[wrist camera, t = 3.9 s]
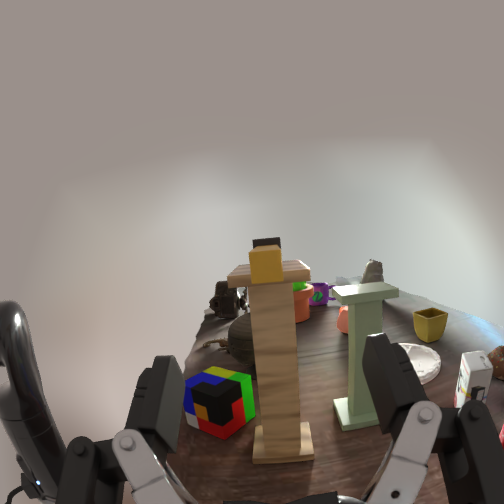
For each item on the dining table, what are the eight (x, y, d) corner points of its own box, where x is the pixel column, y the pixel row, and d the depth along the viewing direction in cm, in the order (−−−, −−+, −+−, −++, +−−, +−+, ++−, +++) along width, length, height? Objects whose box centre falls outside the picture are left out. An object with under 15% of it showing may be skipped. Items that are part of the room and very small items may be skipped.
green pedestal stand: (392, 421, 45) (401, 289, 44) (342, 431, 46) (343, 297, 45) (377, 397, 55) (380, 280, 54) (333, 405, 56) (330, 286, 55)
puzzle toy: (187, 424, 53) (178, 383, 53) (219, 404, 61) (212, 366, 61) (224, 440, 47) (217, 397, 47) (255, 415, 56) (250, 375, 55)
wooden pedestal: (315, 467, 37) (309, 268, 36) (252, 472, 38) (226, 276, 36) (307, 421, 51) (298, 259, 50) (256, 425, 52) (238, 265, 50)
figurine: (389, 300, 136) (387, 259, 135) (359, 304, 136) (357, 263, 135) (378, 295, 150) (377, 257, 149) (350, 299, 150) (348, 261, 149)
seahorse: (221, 339, 109) (220, 331, 108) (250, 348, 96) (249, 340, 96) (201, 346, 103) (199, 338, 102) (228, 357, 90) (226, 348, 90)
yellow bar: (289, 280, 28) (285, 237, 28) (246, 284, 28) (242, 242, 28) (281, 262, 48) (279, 237, 48) (256, 264, 48) (253, 239, 48)
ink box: (452, 402, 44) (461, 351, 44) (473, 400, 42) (483, 349, 42) (457, 425, 37) (469, 370, 36) (480, 422, 35) (494, 367, 34)
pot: (287, 351, 88) (282, 290, 86) (306, 380, 71) (303, 308, 68) (229, 362, 86) (220, 299, 83) (237, 394, 68) (225, 321, 65)
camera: (246, 280, 136) (207, 281, 136) (247, 320, 135) (208, 320, 135) (246, 278, 161) (212, 279, 160) (246, 311, 160) (213, 312, 160)
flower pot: (446, 340, 75) (448, 312, 74) (426, 347, 74) (427, 318, 74) (431, 333, 84) (432, 307, 83) (411, 338, 83) (412, 312, 83)
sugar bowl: (352, 339, 93) (351, 310, 93) (327, 330, 106) (326, 304, 106) (377, 329, 98) (376, 302, 98) (351, 322, 111) (350, 297, 110)
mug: (306, 307, 145) (305, 287, 144) (307, 302, 156) (306, 283, 156) (341, 304, 141) (340, 284, 141) (340, 299, 152) (339, 281, 152)
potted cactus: (273, 329, 115) (267, 266, 114) (259, 316, 137) (253, 263, 136) (323, 319, 120) (319, 259, 119) (303, 309, 142) (299, 257, 140)
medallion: (391, 400, 52) (392, 391, 52) (332, 361, 78) (331, 353, 78) (457, 365, 58) (458, 357, 58) (394, 341, 84) (394, 334, 84)
